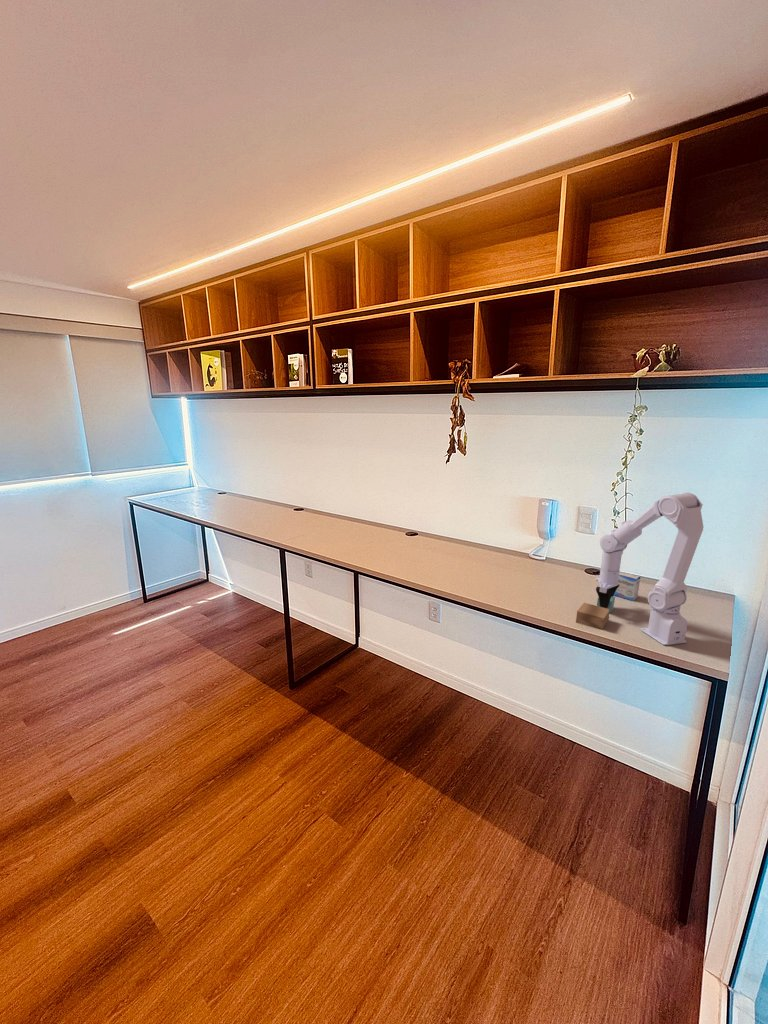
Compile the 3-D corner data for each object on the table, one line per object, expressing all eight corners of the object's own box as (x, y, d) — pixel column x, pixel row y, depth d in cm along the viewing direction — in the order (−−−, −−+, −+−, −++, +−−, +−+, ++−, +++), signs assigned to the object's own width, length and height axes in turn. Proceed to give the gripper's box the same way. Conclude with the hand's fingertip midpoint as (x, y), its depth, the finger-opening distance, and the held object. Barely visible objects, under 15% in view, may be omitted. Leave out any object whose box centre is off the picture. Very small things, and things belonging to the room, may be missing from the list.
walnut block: (608, 620, 143) (609, 609, 142) (602, 629, 137) (603, 618, 136) (582, 613, 148) (584, 602, 147) (575, 622, 142) (577, 611, 141)
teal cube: (613, 608, 152) (614, 597, 151) (610, 613, 148) (611, 601, 147) (599, 605, 154) (601, 593, 153) (596, 609, 151) (597, 597, 150)
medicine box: (610, 595, 163) (613, 573, 161) (614, 591, 166) (617, 570, 164) (633, 601, 157) (637, 579, 155) (637, 597, 160) (640, 575, 158)
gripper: (602, 560, 156) (598, 595, 159) (591, 571, 145) (587, 609, 148) (624, 564, 151) (619, 600, 155) (615, 577, 140) (610, 615, 144)
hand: (605, 605), depth 151 cm, fingers closed on teal cube, 4 cm apart
